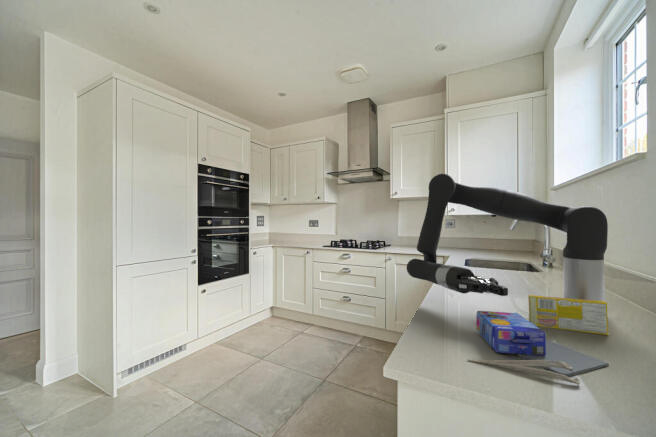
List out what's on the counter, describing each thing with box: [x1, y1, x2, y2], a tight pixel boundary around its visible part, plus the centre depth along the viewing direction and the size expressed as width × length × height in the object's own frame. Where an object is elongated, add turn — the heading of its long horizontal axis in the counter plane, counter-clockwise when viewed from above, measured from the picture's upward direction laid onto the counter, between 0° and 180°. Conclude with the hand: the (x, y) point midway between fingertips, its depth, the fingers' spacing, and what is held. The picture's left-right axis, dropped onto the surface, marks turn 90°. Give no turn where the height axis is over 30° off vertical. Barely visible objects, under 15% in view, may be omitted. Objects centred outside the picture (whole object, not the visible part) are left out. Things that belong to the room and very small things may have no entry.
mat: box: [514, 338, 609, 377], centre depth 59 cm, size 13×15×1 cm
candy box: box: [528, 294, 610, 336], centre depth 72 cm, size 16×2×8 cm, turn 65°
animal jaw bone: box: [467, 358, 581, 385], centre depth 52 cm, size 17×5×2 cm, turn 65°
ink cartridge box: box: [475, 310, 547, 356], centre depth 62 cm, size 10×6×14 cm
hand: (505, 291), depth 68 cm, fingers closed
